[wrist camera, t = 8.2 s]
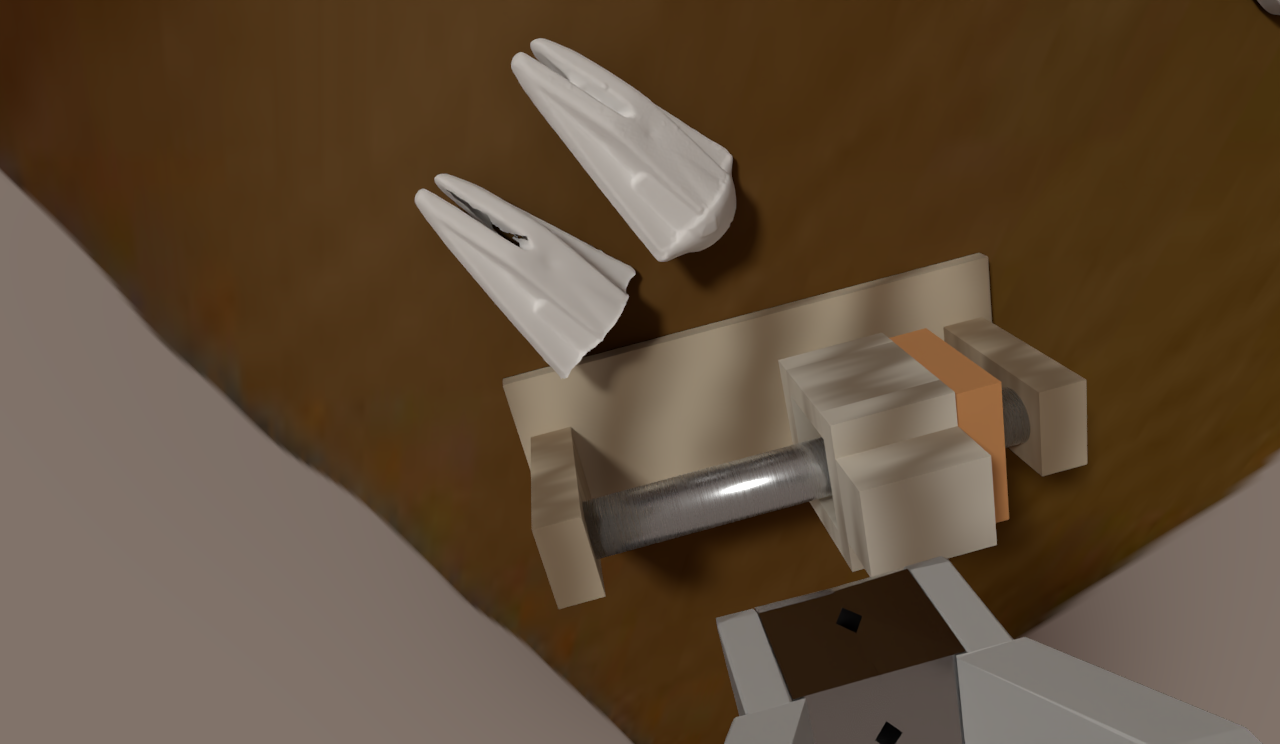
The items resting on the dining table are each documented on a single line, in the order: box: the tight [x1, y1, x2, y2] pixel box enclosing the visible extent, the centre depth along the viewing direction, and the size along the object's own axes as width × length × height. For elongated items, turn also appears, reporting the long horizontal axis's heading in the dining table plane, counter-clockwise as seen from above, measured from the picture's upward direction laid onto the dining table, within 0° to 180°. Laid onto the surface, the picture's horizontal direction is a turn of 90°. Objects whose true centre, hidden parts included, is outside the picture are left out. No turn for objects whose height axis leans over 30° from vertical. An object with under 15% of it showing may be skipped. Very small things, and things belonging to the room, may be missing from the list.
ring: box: [889, 328, 1009, 523], centre depth 36 cm, size 2×6×6 cm, turn 13°
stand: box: [503, 253, 1087, 609], centre depth 38 cm, size 24×10×9 cm, turn 103°
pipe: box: [582, 387, 1030, 559], centre depth 35 cm, size 19×3×3 cm, turn 103°
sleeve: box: [778, 333, 997, 577], centre depth 35 cm, size 5×7×10 cm
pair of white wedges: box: [415, 38, 736, 379], centre depth 35 cm, size 12×4×11 cm
